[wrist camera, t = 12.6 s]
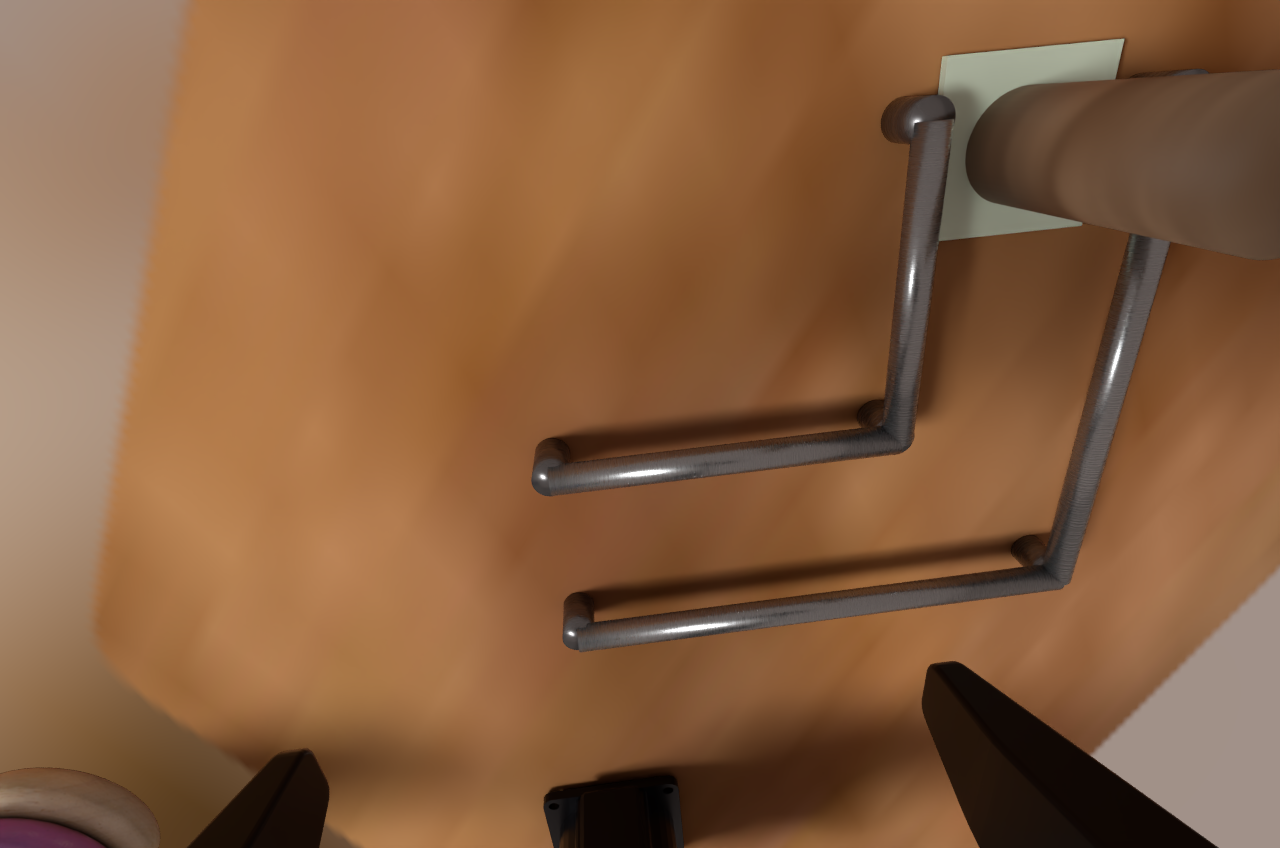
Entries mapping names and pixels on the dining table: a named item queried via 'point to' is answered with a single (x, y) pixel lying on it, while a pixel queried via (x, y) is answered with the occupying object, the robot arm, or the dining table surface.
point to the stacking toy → (71, 812)
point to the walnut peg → (1142, 157)
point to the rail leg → (751, 456)
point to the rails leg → (930, 146)
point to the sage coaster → (974, 90)
